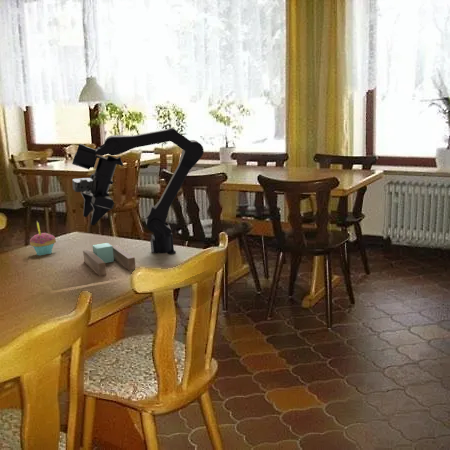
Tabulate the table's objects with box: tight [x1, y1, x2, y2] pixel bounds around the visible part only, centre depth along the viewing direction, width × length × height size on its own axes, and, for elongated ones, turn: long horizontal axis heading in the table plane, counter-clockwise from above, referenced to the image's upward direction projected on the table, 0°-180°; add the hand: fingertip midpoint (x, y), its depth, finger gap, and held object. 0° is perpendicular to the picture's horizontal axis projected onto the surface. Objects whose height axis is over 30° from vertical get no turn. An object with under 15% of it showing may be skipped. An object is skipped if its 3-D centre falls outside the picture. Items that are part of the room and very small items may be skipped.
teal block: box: [92, 242, 115, 264], centre depth 204 cm, size 5×5×5 cm
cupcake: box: [29, 220, 57, 256], centre depth 219 cm, size 9×8×12 cm
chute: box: [82, 244, 137, 277], centre depth 199 cm, size 11×18×4 cm, turn 26°
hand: (88, 220), depth 207 cm, fingers open, 9 cm apart
